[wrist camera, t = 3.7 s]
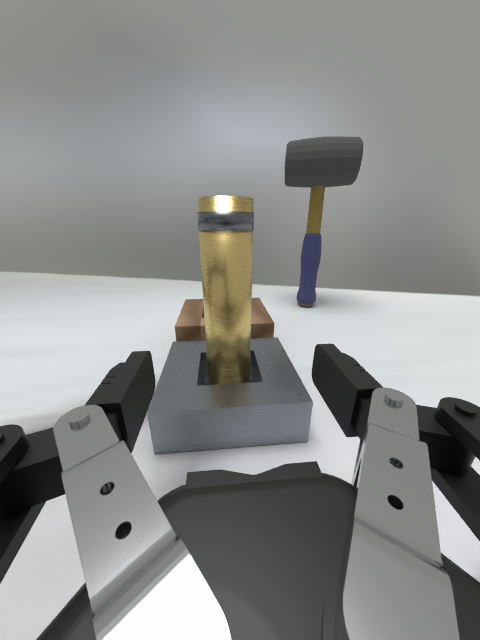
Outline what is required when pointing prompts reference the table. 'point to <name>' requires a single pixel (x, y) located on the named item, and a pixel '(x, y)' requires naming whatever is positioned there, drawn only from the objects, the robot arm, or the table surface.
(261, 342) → the socket block
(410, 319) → the table surface
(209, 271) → the brass peg
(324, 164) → the rubber mallet
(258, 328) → the block
